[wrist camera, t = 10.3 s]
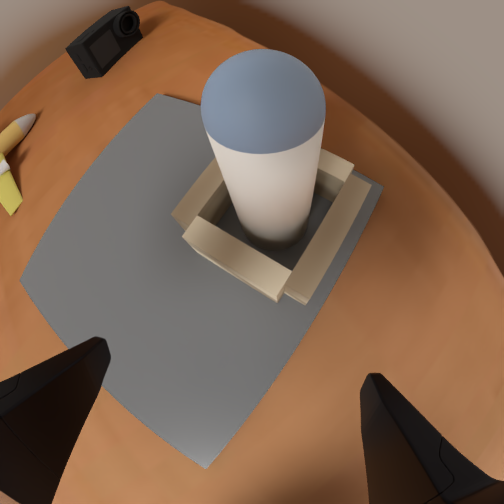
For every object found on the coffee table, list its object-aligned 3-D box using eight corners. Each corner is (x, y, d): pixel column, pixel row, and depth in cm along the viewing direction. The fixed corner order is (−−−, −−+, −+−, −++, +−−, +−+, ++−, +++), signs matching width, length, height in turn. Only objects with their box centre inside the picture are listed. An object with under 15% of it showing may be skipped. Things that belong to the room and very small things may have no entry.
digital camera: (107, 77, 29) (86, 42, 22) (85, 79, 30) (64, 48, 23) (149, 36, 31) (134, 3, 25) (125, 40, 32) (110, 10, 26)
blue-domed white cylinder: (321, 226, 18) (361, 71, 6) (265, 264, 18) (230, 128, 6) (282, 179, 19) (273, 20, 8) (229, 212, 19) (166, 62, 7)
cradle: (364, 198, 18) (376, 176, 15) (298, 316, 17) (302, 311, 14) (253, 144, 21) (249, 117, 18) (180, 241, 19) (163, 224, 16)
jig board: (380, 193, 19) (384, 186, 18) (209, 463, 15) (206, 469, 14) (160, 99, 25) (157, 93, 24) (26, 282, 21) (19, 280, 20)
